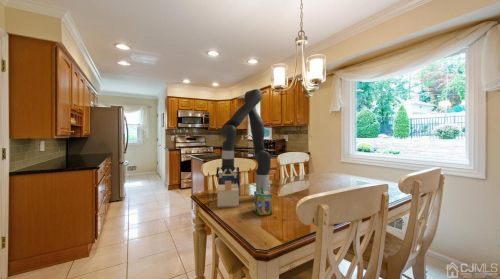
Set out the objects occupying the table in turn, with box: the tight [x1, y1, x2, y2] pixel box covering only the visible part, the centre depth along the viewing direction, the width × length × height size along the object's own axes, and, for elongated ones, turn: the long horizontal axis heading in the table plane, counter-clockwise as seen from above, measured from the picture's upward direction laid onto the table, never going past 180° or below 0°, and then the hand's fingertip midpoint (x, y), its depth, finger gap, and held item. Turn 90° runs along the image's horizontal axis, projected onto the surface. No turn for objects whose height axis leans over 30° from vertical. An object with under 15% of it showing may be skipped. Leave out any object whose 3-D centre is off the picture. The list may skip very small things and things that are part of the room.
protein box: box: [218, 171, 241, 197], centre depth 159 cm, size 10×15×16 cm
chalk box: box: [253, 186, 273, 216], centre depth 125 cm, size 9×9×15 cm
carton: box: [217, 191, 240, 209], centre depth 140 cm, size 13×15×10 cm
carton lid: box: [216, 181, 239, 193], centre depth 139 cm, size 13×14×6 cm
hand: (227, 183), depth 133 cm, fingers open, 8 cm apart
